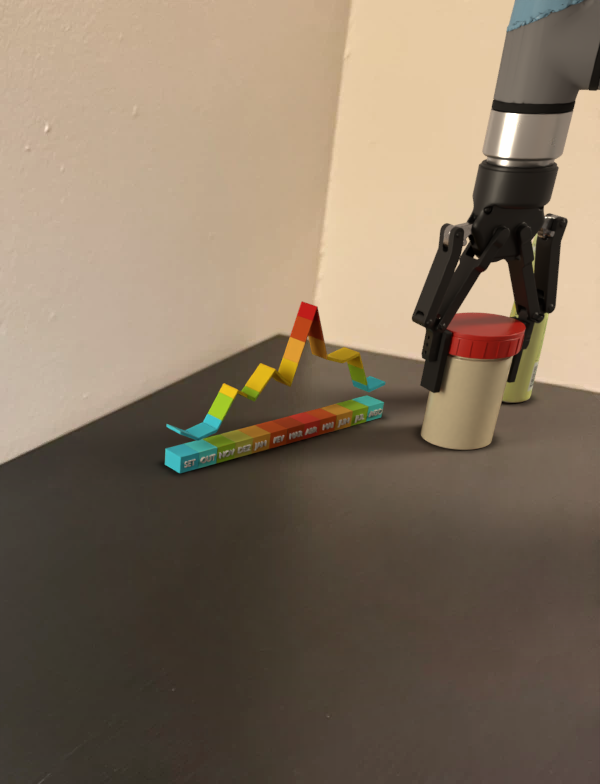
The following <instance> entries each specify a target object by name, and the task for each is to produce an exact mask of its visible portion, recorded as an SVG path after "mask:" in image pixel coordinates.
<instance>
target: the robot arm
mask: <svg viewBox="0 0 600 784" xmlns="http://www.w3.org/2000/svg"><path fill="white" fill-rule="evenodd" d="M505 31H506V33H505V38H504V42H503V48H502V52H501V58H500V63H499V69H498V73H497V77H496V83H495V88H494V92H493V98H492V99H493V100H492V103H491V108H490V111H489V116H488V122H487V126H486V131H485V135H484V139H483V145H482V148H481V149H482V150H481V153H482V154H483V155H484V156H485V157H486V158H485V159H483V160H482V161H481V162H480V163H479V164H478V167H477V172H476V176H475V181H474V187H473V191H472V203H473V204H472V205H473V207H472V211H471V213H470V215H469V216H468V218H467V220H466V222H463V223H459V224H452V223H448V222H446V223H444V224H442V225H441V227H440V230H439V238H438V248H437V251H436V253H435V255H434V258H433V261H432V263H431V266H430V268H429V271H428V273H427V276H426V279H425V281H424V284H423V287H422V289H421V291H420V294H419V297H418V298H417V299H418V300H417V302H416V305H415V306H414V310H413V313H412V315H411V321H412V322H413V323H415V324H416V325H419V326H421V327H423V328H425V334H424V339H423V345H422V349H421V359H423V360H424V364H423V368H422V374H421V380H420V382H419V383H420V384H419V386H420V387H422V388H424V389H425V390H427V391H428V392H429V391H431V392H433V393H438V392H440V388H441V383H442V378H443V374H444V369H445V365H446V360H447V356H448V351H449V346H450V342H451V337H452V332H450V331H448V330H446V329H447V327H448V326H449V324H450V322H451V321H452V319H453V318H454V316H455V314H456V313H458V311H459V309H460V308H461V306H462V304H463V303H464V301H465V300H466V298H467V297H468V295H469V293H470V292H471V290H472V288H473V287H474V286H475V283H476V282H477V280H478V278H479V277H480V276H481V274H482V273H484V272H485V271H487V270H488V268H489V266H490V265H491V264H493V263H497V262H500V261H503V260H504V261H505V262H506V263H507V266H508V267H507V268H508V273H509V278H510V284H511V290H512V295H513V300H514V301H515V307H516V312H517V315H519V316H518V318H517V317H510V316H509V317H510V318H514V319H516V320H518V321H520V322H522V323H523V324H524V325H525V327H526V329H525V332H524V339H523V343H522V347H521V350H520V351H519V352H518V353H517V354H516V355H514V356H513V359H512V363H511V367H510V371H509V375H508V379H507V382H509V383H511V382H515V379H516V375H517V372H518V368H519V364H520V360H521V356H522V353H523V350H524V349H527V347H528V345H529V342H530V338H531V335H532V331H533V327H534V323H541V322H542V321H543V319H544V317H545V315H544V314H545V313H548V314H549V315H551V314H552V313H553V312H554V311H555V310H556V306H557V297H558V295H557V294H558V286H559V285H558V284H559V272H560V261H561V247H562V240H563V238H564V235H565V232H566V229H567V226H568V223H569V221H568V218H567V217H565V216H562V215H561V216H560V215H558V214H555V213H551V212H549V213H546V214H545V206H546V205H548V204H549V203H550V202H551V199H552V196H553V192H554V188H555V184H556V181H557V176H558V173H559V169H560V167H559V166H558V163H557V162H555V161H556V160H557V159H559V158H560V157H562V155H563V154H564V150H565V147H566V143H567V139H568V133H569V130H570V126H571V122H572V118H573V113H574V109H575V107H576V106H575V105H576V100H577V97H578V95H579V92H580V91H592V92H597V91H600V0H514V2H513V6H512V10H511V14H510V18H509V22H508V25H507V26H506V30H505ZM536 234H537V240H536V250H535V265H534V271H533V265H532V261H534V253H533V247H532V243H533V240H534V238H535V235H536ZM468 240H469V241H468ZM464 247H465V248H464ZM463 248H464V249H463ZM475 257H476V258H475ZM514 301H513V302H514Z"/></svg>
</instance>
